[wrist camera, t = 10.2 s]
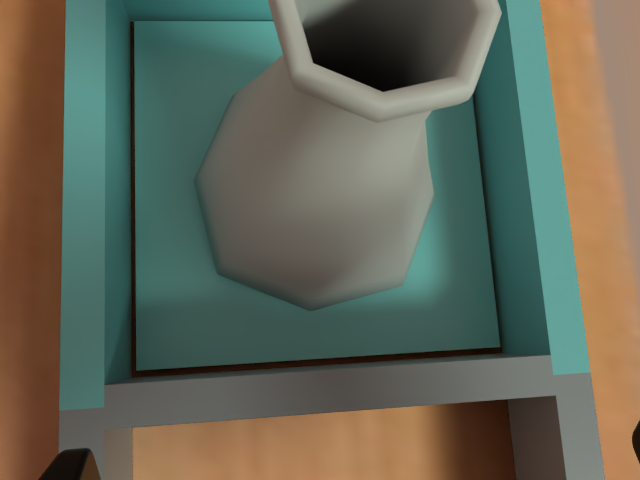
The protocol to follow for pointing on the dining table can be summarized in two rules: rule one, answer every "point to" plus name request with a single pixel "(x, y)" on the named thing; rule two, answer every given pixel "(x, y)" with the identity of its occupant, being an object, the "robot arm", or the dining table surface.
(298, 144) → the flask
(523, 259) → the tray
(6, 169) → the dining table surface
